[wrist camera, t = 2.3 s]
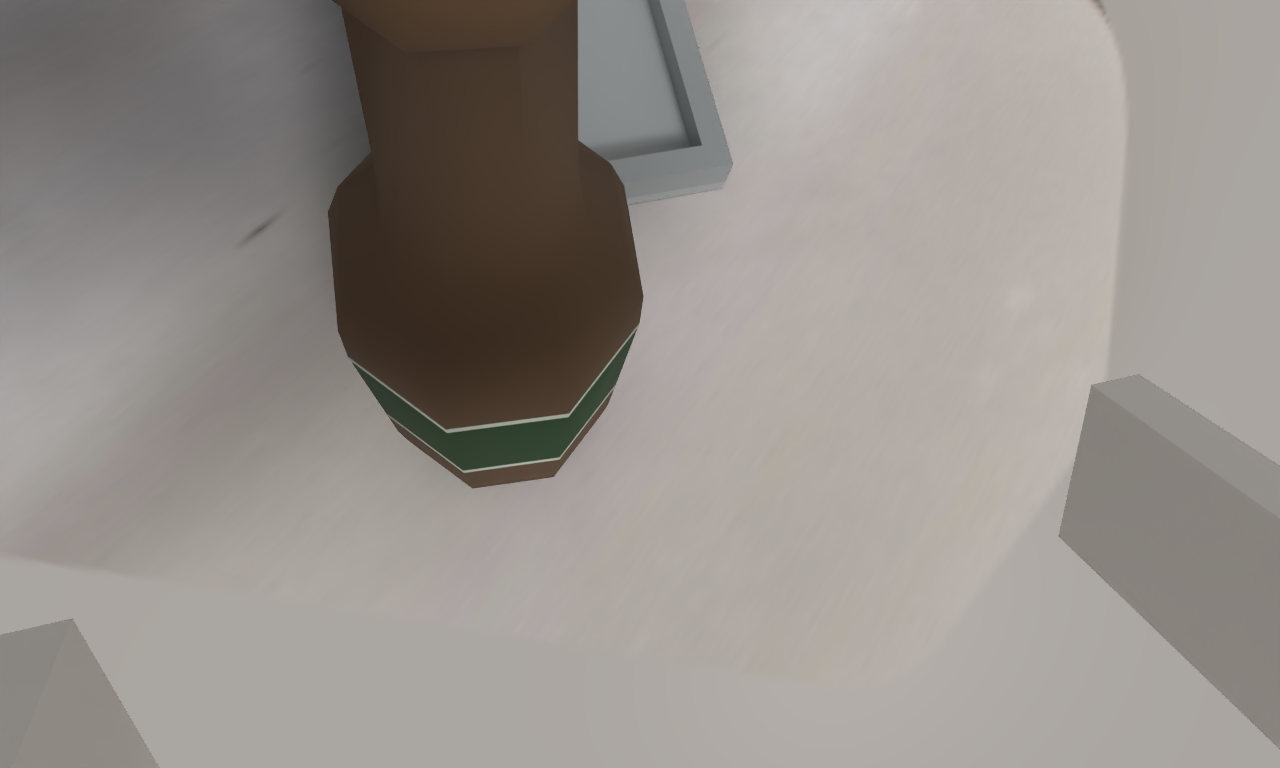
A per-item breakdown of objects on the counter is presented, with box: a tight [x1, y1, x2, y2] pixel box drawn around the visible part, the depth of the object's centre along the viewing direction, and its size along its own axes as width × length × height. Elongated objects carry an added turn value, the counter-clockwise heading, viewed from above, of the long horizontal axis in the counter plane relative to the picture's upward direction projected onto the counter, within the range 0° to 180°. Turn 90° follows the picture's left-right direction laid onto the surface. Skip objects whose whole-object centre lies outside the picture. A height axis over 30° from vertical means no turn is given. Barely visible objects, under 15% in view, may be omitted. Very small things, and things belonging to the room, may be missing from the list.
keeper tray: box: [578, 0, 733, 205], centre depth 35 cm, size 13×13×2 cm
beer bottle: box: [328, 0, 643, 488], centre depth 21 cm, size 8×8×24 cm
